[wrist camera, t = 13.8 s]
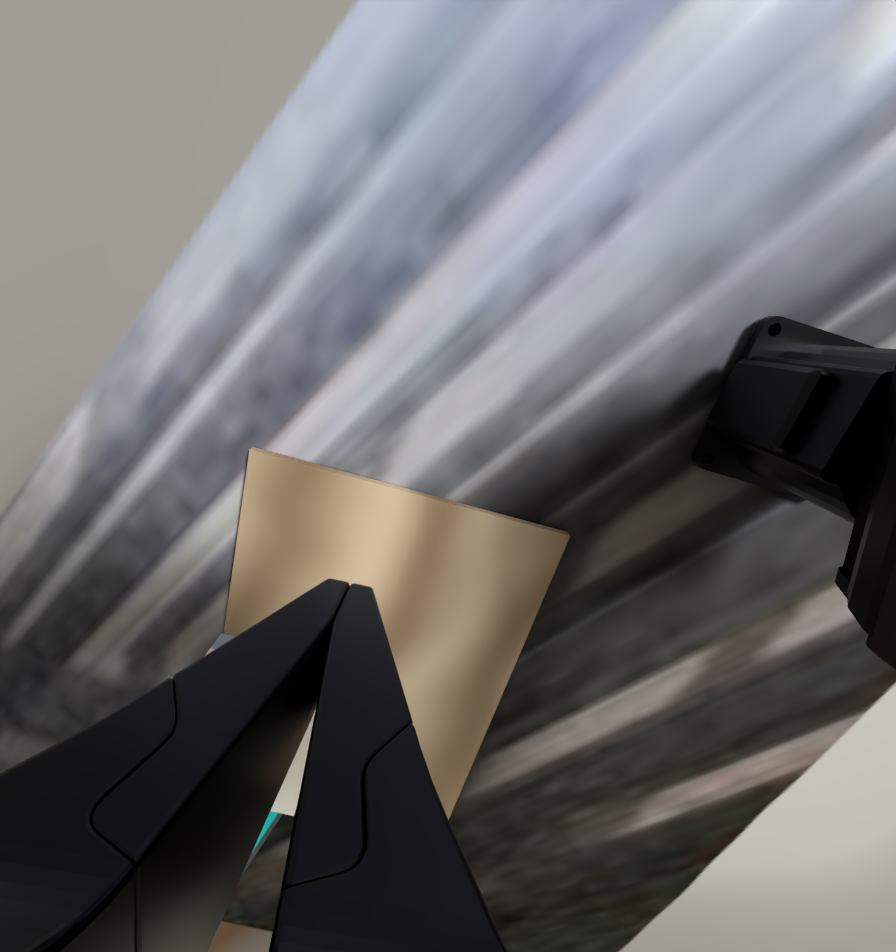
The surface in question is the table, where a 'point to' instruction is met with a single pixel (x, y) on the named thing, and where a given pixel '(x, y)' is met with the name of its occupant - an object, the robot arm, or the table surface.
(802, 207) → the table surface
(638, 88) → the table surface
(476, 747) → the mat
